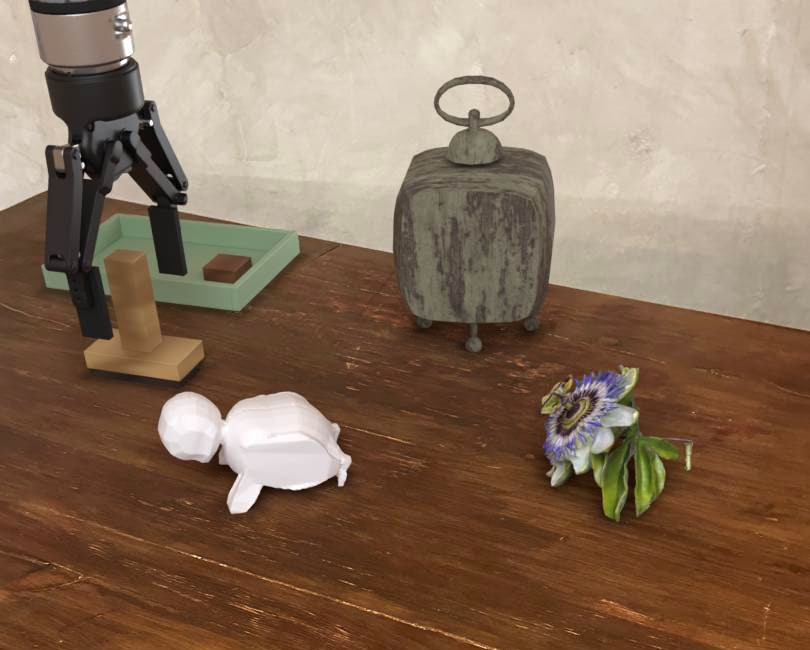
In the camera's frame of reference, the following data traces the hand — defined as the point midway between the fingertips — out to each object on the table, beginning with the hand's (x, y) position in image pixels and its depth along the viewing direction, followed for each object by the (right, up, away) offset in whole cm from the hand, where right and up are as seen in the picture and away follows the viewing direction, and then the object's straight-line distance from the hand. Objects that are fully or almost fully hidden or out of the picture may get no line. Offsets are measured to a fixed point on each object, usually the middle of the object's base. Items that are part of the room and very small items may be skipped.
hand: (137, 303), depth 104 cm
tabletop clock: (+32, -3, +7) cm, 32 cm away
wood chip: (+5, +7, +20) cm, 22 cm away
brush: (0, -6, +4) cm, 7 cm away
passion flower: (+41, -17, -13) cm, 46 cm away
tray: (-1, +8, +22) cm, 24 cm away
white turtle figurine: (+13, -17, -11) cm, 24 cm away
